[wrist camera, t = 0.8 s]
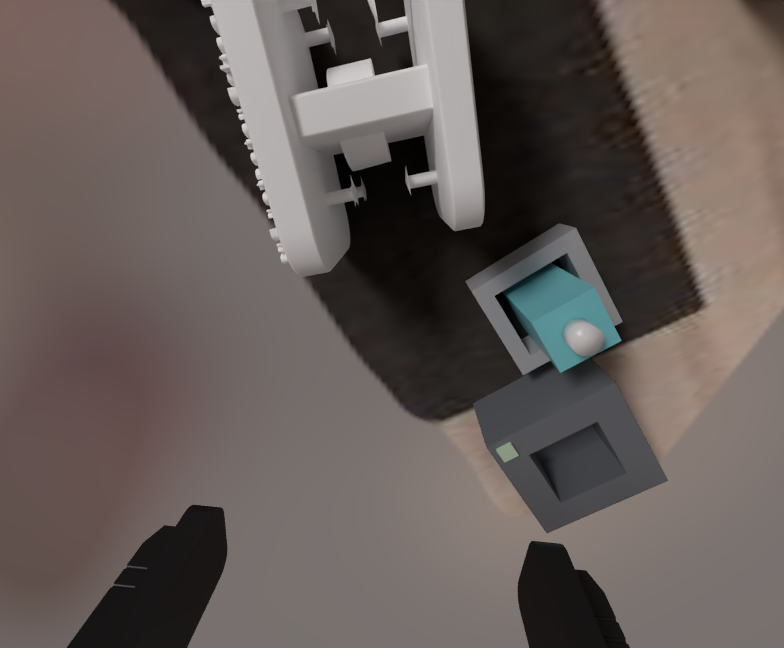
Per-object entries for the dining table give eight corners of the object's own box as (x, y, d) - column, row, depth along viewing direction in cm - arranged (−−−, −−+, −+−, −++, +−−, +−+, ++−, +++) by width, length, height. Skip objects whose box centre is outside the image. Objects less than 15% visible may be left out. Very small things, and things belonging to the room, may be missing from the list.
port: (578, 347, 32) (617, 384, 26) (625, 432, 35) (670, 483, 29) (472, 403, 34) (487, 449, 28) (524, 479, 37) (548, 536, 31)
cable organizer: (460, 222, 29) (495, 247, 18) (324, 249, 30) (280, 288, 19) (428, -22, 24) (449, -190, 13) (266, 20, 25) (160, -105, 14)
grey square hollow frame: (559, 223, 29) (575, 227, 26) (602, 308, 31) (622, 321, 28) (465, 281, 30) (471, 291, 28) (512, 358, 33) (523, 375, 30)
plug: (546, 260, 30) (607, 294, 21) (568, 301, 31) (635, 350, 22) (499, 288, 31) (539, 332, 22) (523, 327, 32) (570, 384, 23)
